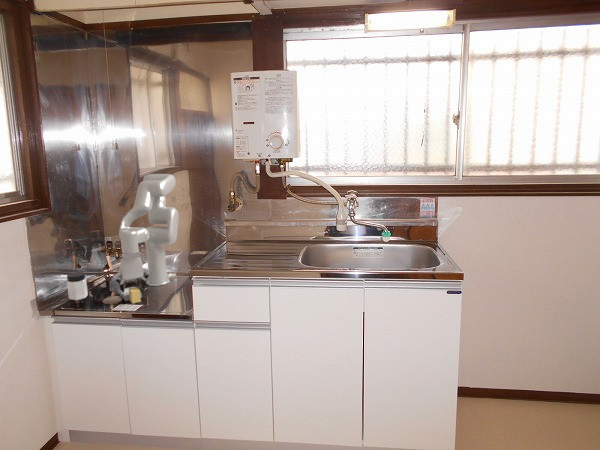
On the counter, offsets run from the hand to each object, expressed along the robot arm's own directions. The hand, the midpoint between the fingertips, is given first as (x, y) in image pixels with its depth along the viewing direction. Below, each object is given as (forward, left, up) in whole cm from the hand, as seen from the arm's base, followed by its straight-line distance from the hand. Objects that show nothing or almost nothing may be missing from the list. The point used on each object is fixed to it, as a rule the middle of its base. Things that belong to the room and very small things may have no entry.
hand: (133, 289), depth 217 cm
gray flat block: (-1, -10, -6) cm, 11 cm away
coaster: (+8, -8, -6) cm, 13 cm away
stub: (-1, -1, -6) cm, 6 cm away
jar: (+21, -24, -6) cm, 32 cm away
